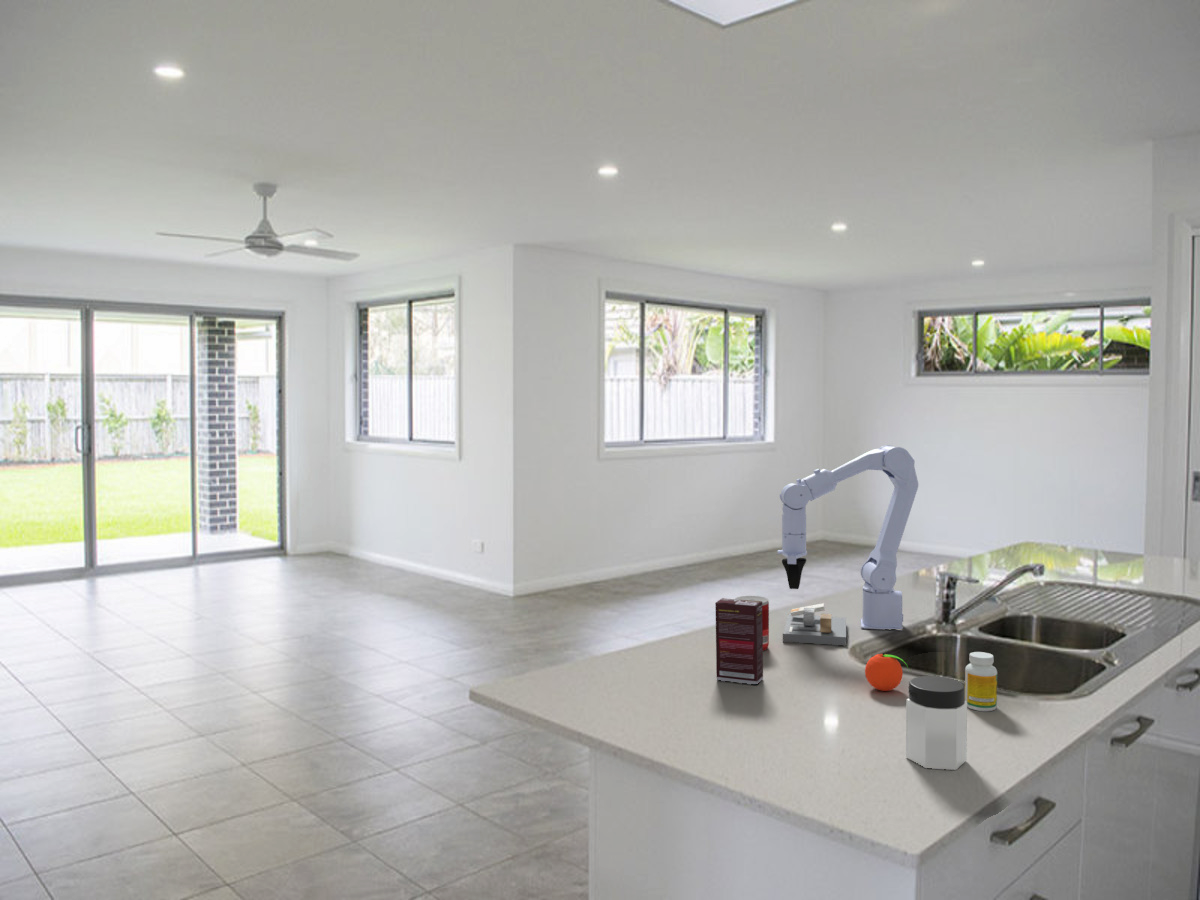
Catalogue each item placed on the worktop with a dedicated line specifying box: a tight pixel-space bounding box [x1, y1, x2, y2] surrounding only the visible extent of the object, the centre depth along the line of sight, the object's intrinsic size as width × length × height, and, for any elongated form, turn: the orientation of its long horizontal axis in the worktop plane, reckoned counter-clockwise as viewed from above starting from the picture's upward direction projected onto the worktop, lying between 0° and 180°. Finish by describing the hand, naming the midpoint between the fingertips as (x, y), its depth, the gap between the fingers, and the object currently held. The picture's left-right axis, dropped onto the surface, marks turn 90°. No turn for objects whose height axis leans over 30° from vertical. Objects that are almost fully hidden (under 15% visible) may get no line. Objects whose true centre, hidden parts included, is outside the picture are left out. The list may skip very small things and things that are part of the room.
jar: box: [905, 675, 968, 771], centre depth 141 cm, size 9×8×12 cm
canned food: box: [734, 595, 770, 652], centre depth 205 cm, size 8×8×11 cm
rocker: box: [790, 602, 826, 616], centre depth 223 cm, size 8×4×1 cm, turn 74°
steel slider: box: [803, 608, 816, 626], centre depth 217 cm, size 2×4×3 cm, turn 165°
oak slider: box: [819, 613, 832, 633], centre depth 211 cm, size 2×4×3 cm, turn 165°
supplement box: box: [714, 597, 764, 685], centre depth 182 cm, size 9×5×16 cm, turn 65°
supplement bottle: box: [964, 651, 998, 712], centre depth 165 cm, size 5×5×10 cm
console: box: [782, 613, 847, 646], centre depth 217 cm, size 14×19×3 cm
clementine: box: [864, 653, 909, 692], centre depth 175 cm, size 8×7×7 cm
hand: (794, 588), depth 223 cm, fingers closed
